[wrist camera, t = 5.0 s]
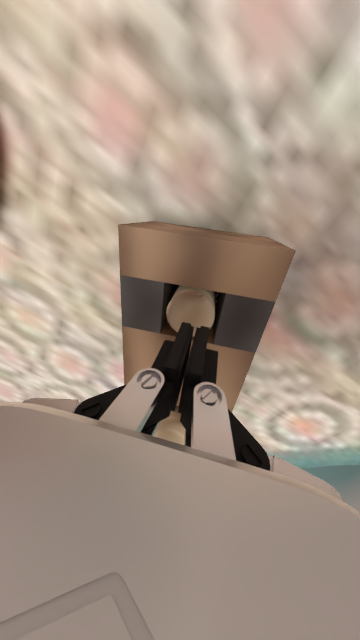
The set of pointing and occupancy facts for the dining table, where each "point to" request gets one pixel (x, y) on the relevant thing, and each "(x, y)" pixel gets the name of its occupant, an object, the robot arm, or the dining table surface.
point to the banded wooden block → (204, 273)
